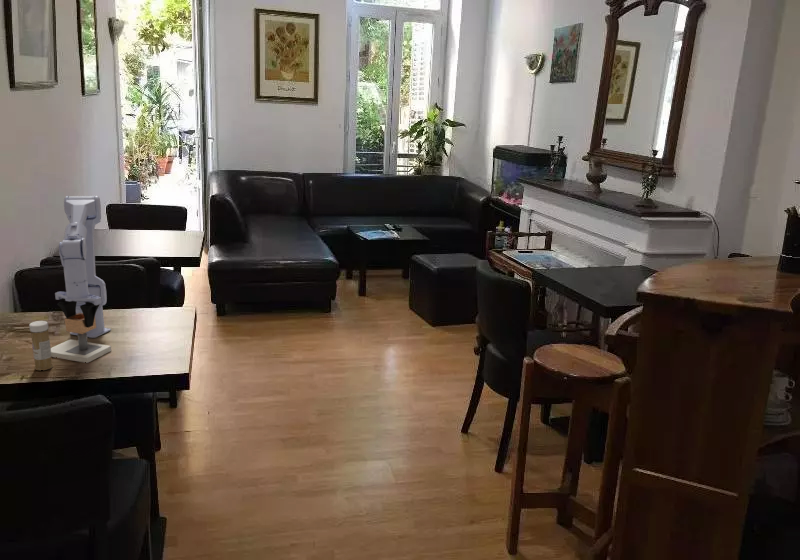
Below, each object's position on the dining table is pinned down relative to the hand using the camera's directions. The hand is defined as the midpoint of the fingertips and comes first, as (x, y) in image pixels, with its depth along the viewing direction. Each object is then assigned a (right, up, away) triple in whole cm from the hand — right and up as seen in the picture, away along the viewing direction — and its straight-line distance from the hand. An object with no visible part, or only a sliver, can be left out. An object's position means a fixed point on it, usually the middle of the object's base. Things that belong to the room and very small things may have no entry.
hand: (81, 325), depth 192 cm
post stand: (-2, -9, +3) cm, 9 cm away
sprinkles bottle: (-7, -12, -8) cm, 16 cm away
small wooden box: (0, -1, 0) cm, 1 cm away
